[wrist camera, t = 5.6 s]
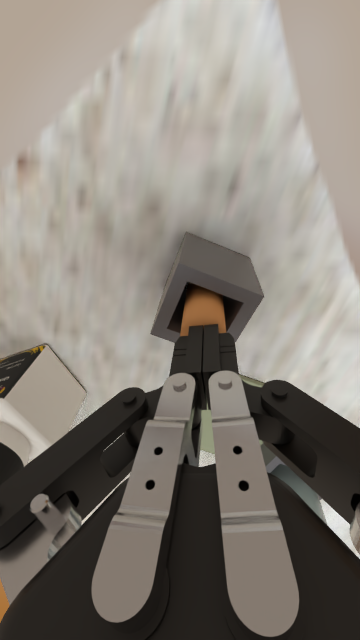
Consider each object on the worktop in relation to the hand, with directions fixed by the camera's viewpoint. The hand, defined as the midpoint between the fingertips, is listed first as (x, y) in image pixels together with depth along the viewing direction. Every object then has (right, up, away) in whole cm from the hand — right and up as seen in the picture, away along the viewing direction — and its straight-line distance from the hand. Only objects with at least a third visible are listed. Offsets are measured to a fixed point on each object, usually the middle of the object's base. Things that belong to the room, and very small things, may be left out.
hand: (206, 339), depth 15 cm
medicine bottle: (-16, -5, +15) cm, 22 cm away
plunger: (0, +3, +5) cm, 6 cm away
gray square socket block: (+1, +4, +7) cm, 8 cm away
